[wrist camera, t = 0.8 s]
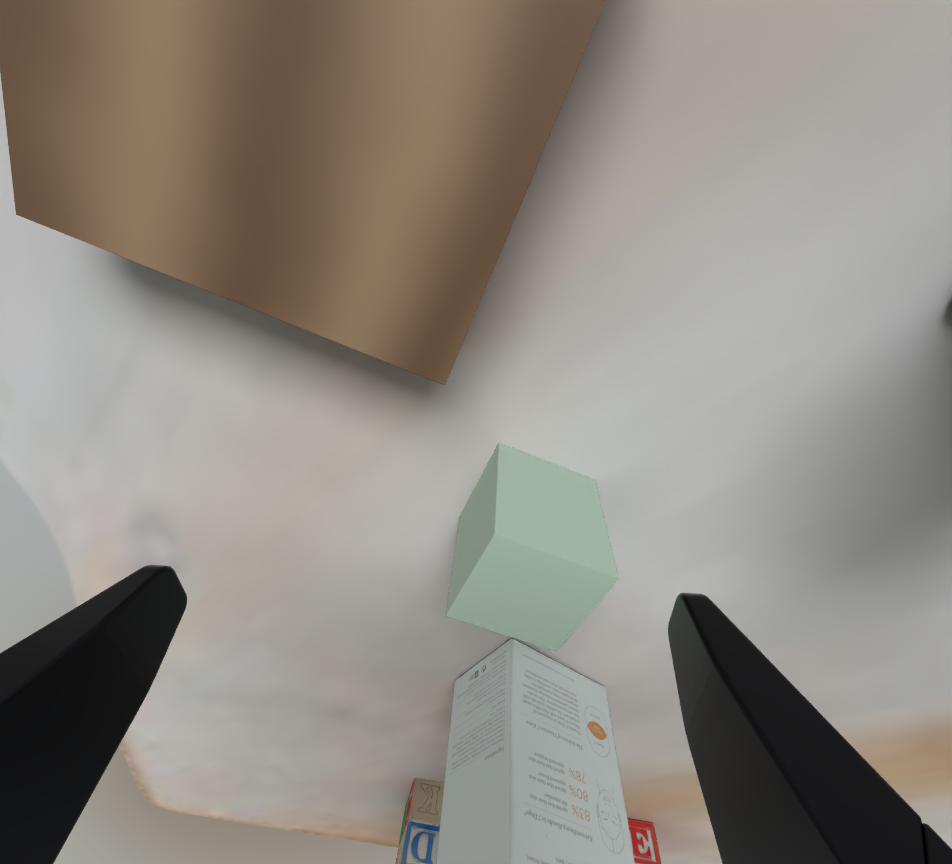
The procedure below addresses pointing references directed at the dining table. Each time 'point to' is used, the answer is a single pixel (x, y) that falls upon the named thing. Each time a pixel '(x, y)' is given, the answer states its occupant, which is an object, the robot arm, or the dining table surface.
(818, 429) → the dining table surface
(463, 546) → the green cube
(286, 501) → the dining table surface
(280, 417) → the dining table surface
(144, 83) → the walnut base
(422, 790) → the stack of blocks
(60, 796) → the robot arm
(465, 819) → the small box
